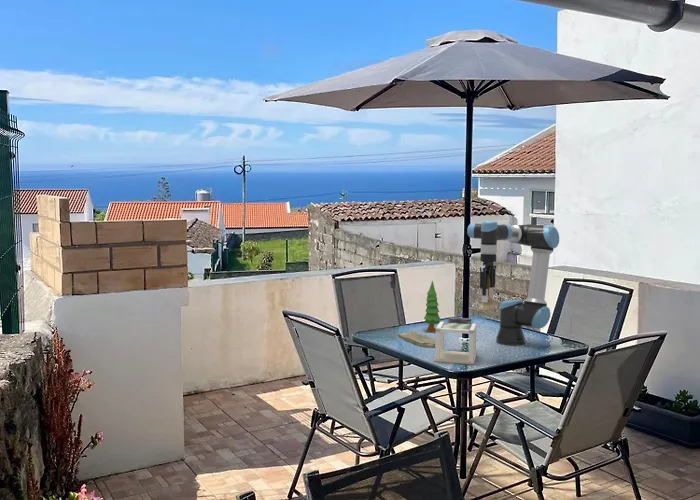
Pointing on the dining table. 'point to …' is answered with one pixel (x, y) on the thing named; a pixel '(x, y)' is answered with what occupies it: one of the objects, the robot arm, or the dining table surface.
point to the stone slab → (418, 339)
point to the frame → (453, 355)
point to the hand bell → (489, 304)
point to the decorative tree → (432, 309)
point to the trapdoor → (458, 323)
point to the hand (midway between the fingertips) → (487, 301)
